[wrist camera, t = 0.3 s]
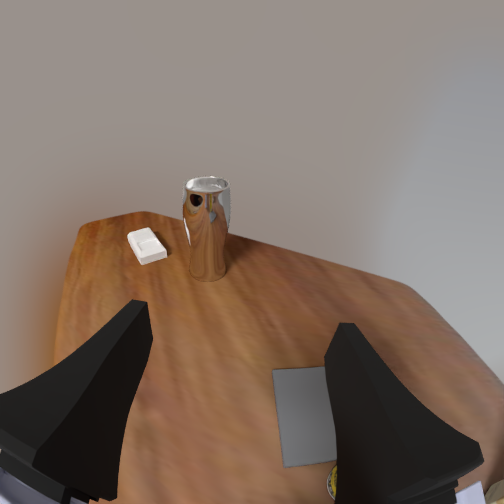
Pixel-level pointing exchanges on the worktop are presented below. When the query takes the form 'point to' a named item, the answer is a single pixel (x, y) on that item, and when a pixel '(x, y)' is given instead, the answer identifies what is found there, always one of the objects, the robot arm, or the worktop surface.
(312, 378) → the mat
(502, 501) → the skincare box
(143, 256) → the soap bar
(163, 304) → the worktop surface
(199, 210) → the beer glass
